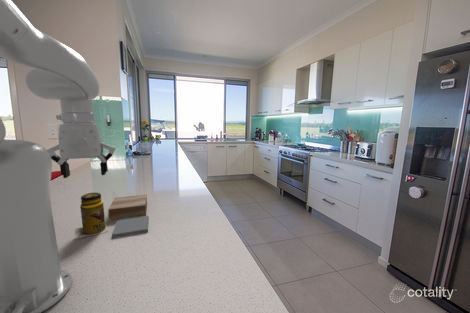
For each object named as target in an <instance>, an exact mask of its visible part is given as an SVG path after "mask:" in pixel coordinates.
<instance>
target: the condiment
mask: <svg viewBox="0 0 470 313" xmlns="http://www.w3.org/2000/svg"><path fill="white" fill-rule="evenodd" d="M80 200H81V201H80V203H81V204H80V205H79V207H80V214H81V216H80V217H81V224H82V227H81V226H80V227H77V228H75V233H74V240H78V239H82V238H86V237H89V236H94V235H99V234H104V233H107V232H108V225H107V222H106V218H105V217H106V216H105V208H104V201H103V200H102V194H101V192H89V193H85V194H83V195H81V197H80Z"/></svg>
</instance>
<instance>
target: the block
mask: <svg viewBox="0 0 470 313" xmlns="http://www.w3.org/2000/svg"><path fill="white" fill-rule="evenodd" d="M147 196H148V194H140V195H139V194H138V195H129V196H121V197H120V196H119V197H114V198H113V200H112V201H111V204H110V206H109V208H108V218H109V221H114V220H121V219H128V218H135V217H143V216H147V208H148V197H147Z"/></svg>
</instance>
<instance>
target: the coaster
mask: <svg viewBox="0 0 470 313" xmlns="http://www.w3.org/2000/svg"><path fill="white" fill-rule="evenodd" d="M149 219H150V218H149V215H144V216H137V217H129V218H122V219H116V220H117V221H116V223H115V226H114V228H113V231H112V234H111V237H112V238H118V237H124V236H125V237H126V236H130V235H131V236H132V235H137V234H142V233H148V232H149V221H150V220H149Z"/></svg>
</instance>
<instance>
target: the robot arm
mask: <svg viewBox="0 0 470 313" xmlns="http://www.w3.org/2000/svg"><path fill="white" fill-rule="evenodd" d="M0 58H1V59H3V60H6V61H10V62H13V63H16V64H19V65H21V66H22V65H23V66H26V67H30V68H32V69H31V70H29V71H28V72H27V73H26V75H25V84H26V86H27V88H28V90H29V91H30V92H31V93H32V94H34V95H35V96H37V97H39V98H41V99H45V100H57V101H59V103H60V110H61V112H60V114H56V116H55V117H56V120H57V121H61V123H62V124H61V123H60V124H59V126H58V144H57V145H54V146H52V147H50V148H48V149H46V148H45V147H44V146H42V145H40V144H38V143H36V142H33V141H29V140H21V139H5V138H6V134H7V132H6V131H7V130H6V125H5V123H4V121H3V120H2V118H1V117H0V313H42V312H44V311H46V310H48V309H50V307H52V306H54V305H55V304H57V303H58V302H59V301H60V300H61V299H62V298H63V297H64V296H65V295H66V294H67V293H68V291H69V290H70V288H71V286H72V282H73V280H72V275H71V273H69V272H68V271H66V270H64V269H63V270H62V269H61V263H60V256H59V249H58V243H57V237H56V236H57V235H56V229H55V228H56V227H55V222H54V216H53V210H52V200H51V180H52V171H53V161H54V162H55V163H57V165H58V166H59V169H60V175H62V176H63V179H67V178H69V177H70V176H71V171H70V164H69V162H67V161H69V160H72V159H73V160H77V159H91V158H92V159H93V158H97V159H98V160H99V161H100V163H99V166H100V173H101V176H105V175H106V174H107V173H108V170H109V169H108V160H109V159H111V158H112V157H113V155H114V154H115V151H116V147H115V146H112V145H110V144H109V143H108V144H107V143H104V142H103V141H102V136H101V132H100V129H99V125H98V124H97V123H95V113H94V103H93V100H95V99H96V98H97V97H98V95H99V94H100V84H99V81H98V78H97V76H96V75H95V73H94V71H93V70H92V68H91V67H90V65H89V64H88V63H87V61H86V60H85V58H84V57H83V56H82V55H80V54H79V53H78V52H76V51H75V50H74V49H72V48H71V47H69V46H67V45H65V44H64V43H62V42H61V41H59V40H57V39H56V38H54V37H52V36H50V35H48V34H46V33H44V32H42V30H39V29H37V28H35V27H34V26H33V24H32V23H31V22H30V20H28V18H27V17H26V16H25V15H24V14H23V12H21V10H20V9H19V8H18V7H17V5H16V4H15V3H14V2H13V1H12V0H0ZM104 149H105V150H108V153H107V154H106V155H105V154H104ZM57 151H59V155H58V154H57V153H56V152H57Z"/></svg>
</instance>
